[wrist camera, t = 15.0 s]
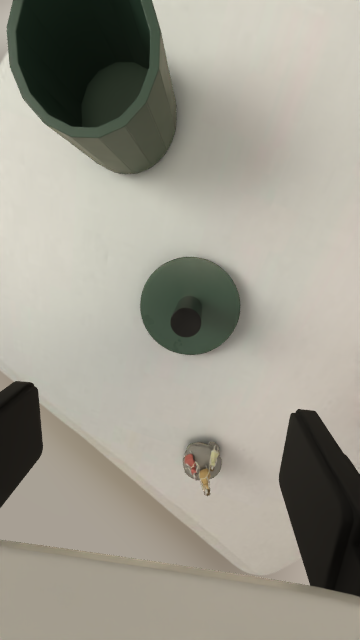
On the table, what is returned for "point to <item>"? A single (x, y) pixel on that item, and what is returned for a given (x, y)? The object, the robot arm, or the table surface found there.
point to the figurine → (202, 463)
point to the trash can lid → (190, 305)
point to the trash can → (96, 77)
